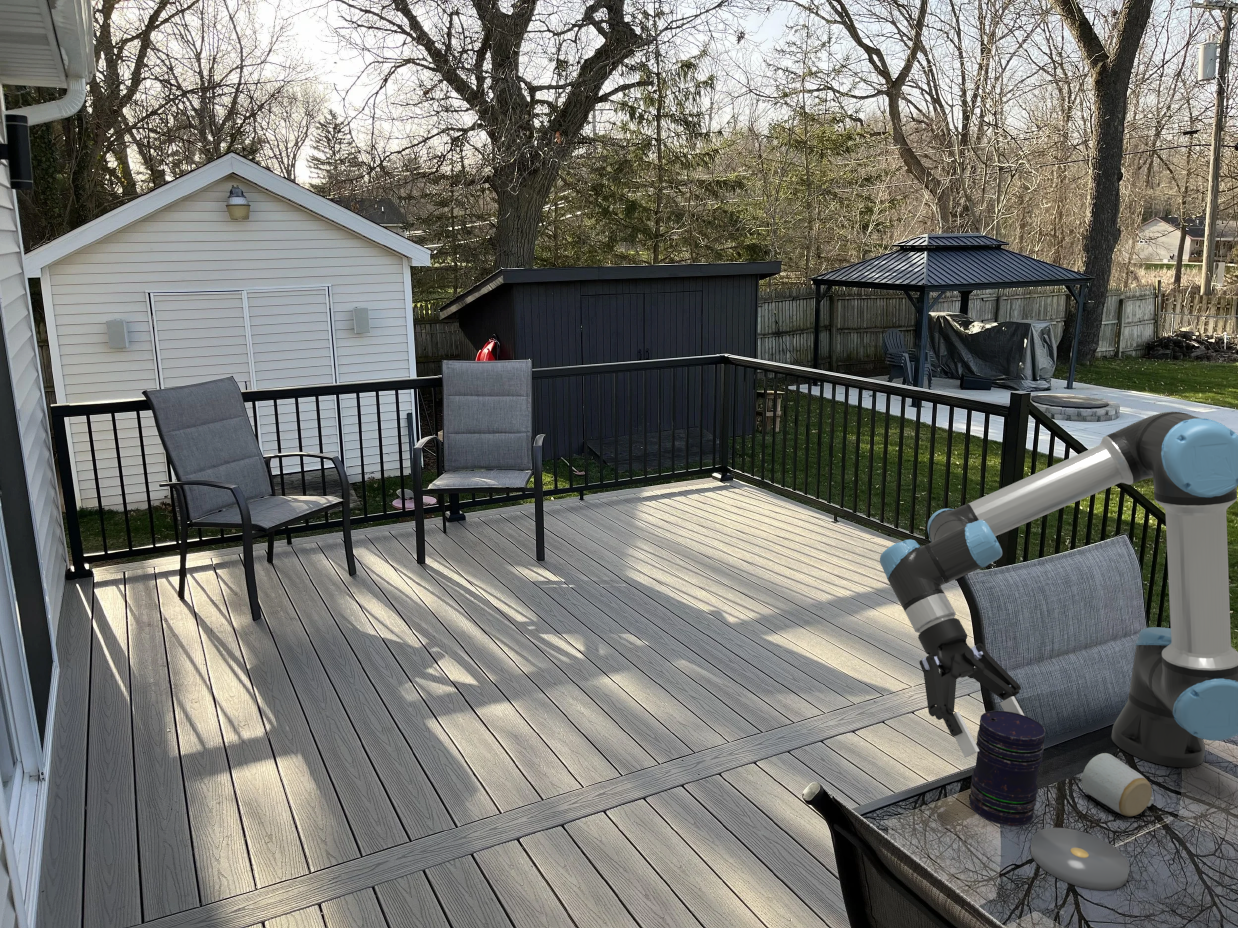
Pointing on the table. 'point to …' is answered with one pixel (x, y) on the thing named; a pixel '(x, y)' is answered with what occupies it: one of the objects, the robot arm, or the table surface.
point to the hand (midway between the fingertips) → (1000, 745)
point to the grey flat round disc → (1079, 858)
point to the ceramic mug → (1116, 785)
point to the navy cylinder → (1007, 768)
